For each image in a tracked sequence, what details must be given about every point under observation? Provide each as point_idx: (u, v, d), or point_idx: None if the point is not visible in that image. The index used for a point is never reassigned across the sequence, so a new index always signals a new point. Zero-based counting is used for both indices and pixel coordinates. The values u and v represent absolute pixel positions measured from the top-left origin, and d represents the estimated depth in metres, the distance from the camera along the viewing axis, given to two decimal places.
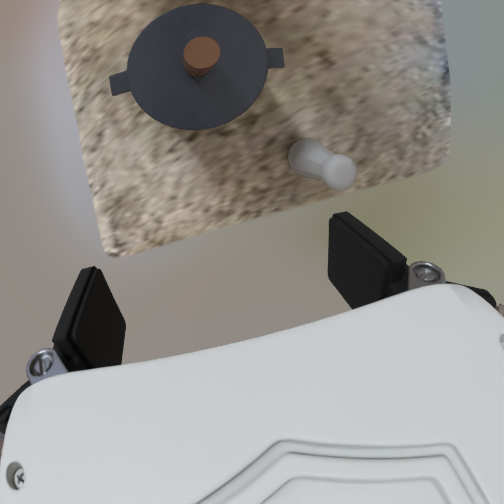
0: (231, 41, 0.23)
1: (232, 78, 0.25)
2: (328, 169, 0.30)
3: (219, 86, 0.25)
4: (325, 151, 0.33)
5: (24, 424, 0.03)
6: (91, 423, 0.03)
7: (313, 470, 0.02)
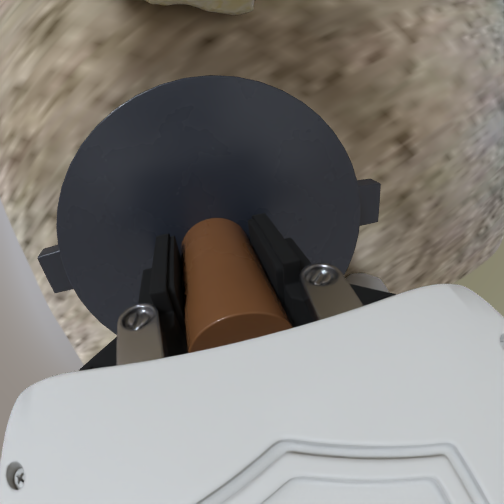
0: (291, 189, 0.12)
1: None
2: None
3: None
4: None
5: (24, 424, 0.03)
6: (91, 423, 0.03)
7: (313, 470, 0.02)
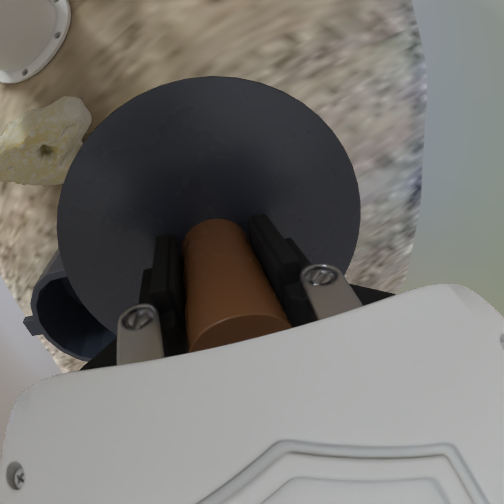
0: (292, 190, 0.12)
1: None
2: None
3: None
4: None
5: (24, 424, 0.03)
6: (91, 423, 0.03)
7: (313, 470, 0.02)
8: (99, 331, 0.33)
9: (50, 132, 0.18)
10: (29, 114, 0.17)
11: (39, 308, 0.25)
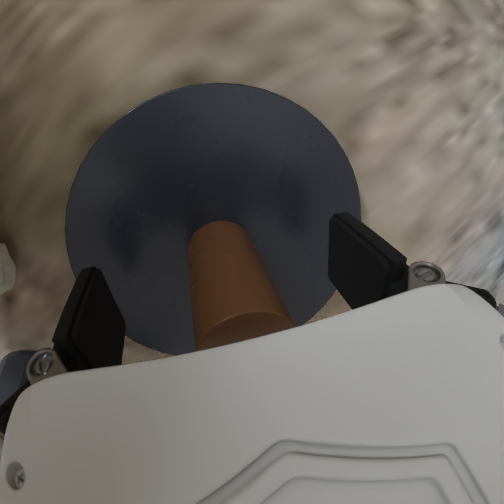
0: (294, 193, 0.12)
1: (290, 275, 0.14)
2: None
3: None
4: None
5: (24, 424, 0.03)
6: (91, 423, 0.03)
7: (313, 470, 0.02)
8: None
9: None
10: None
11: None
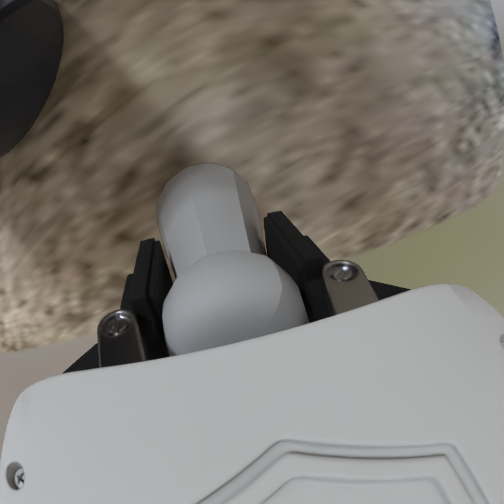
0: None
1: None
2: (169, 337, 0.07)
3: None
4: (215, 218, 0.11)
5: (24, 424, 0.03)
6: (91, 423, 0.03)
7: (313, 470, 0.02)
8: None
9: None
10: None
11: None
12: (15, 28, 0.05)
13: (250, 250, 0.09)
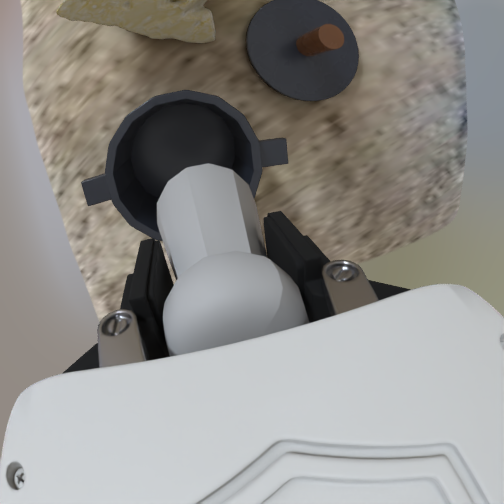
0: None
1: (333, 63, 0.28)
2: (170, 338, 0.07)
3: (323, 67, 0.28)
4: (215, 219, 0.11)
5: (24, 424, 0.03)
6: (91, 423, 0.03)
7: (313, 470, 0.02)
8: None
9: None
10: None
11: (117, 156, 0.21)
12: None
13: (250, 251, 0.09)
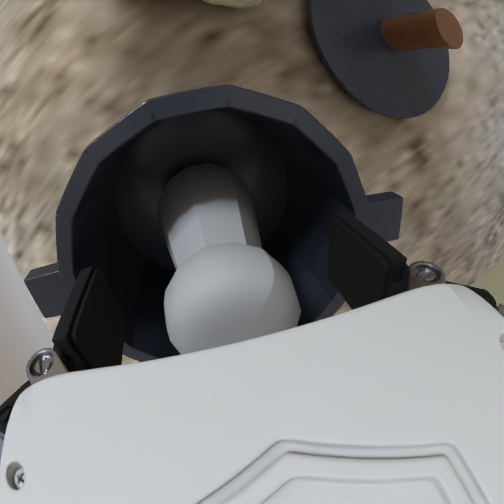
0: None
1: (424, 65, 0.16)
2: (170, 322, 0.08)
3: (413, 70, 0.16)
4: (213, 214, 0.11)
5: (24, 424, 0.03)
6: (91, 423, 0.03)
7: (313, 470, 0.02)
8: None
9: None
10: None
11: (78, 234, 0.10)
12: None
13: (246, 243, 0.10)
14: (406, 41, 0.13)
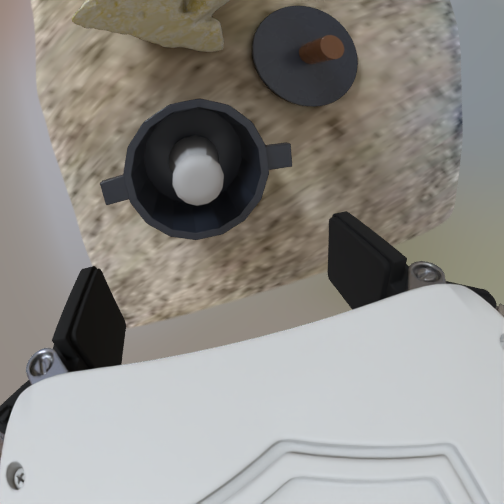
0: None
1: (333, 70, 0.30)
2: (174, 176, 0.21)
3: (324, 74, 0.30)
4: (194, 151, 0.25)
5: (24, 424, 0.03)
6: (91, 423, 0.03)
7: (313, 470, 0.02)
8: (188, 214, 0.32)
9: None
10: None
11: (135, 159, 0.24)
12: None
13: None
14: (311, 58, 0.27)
